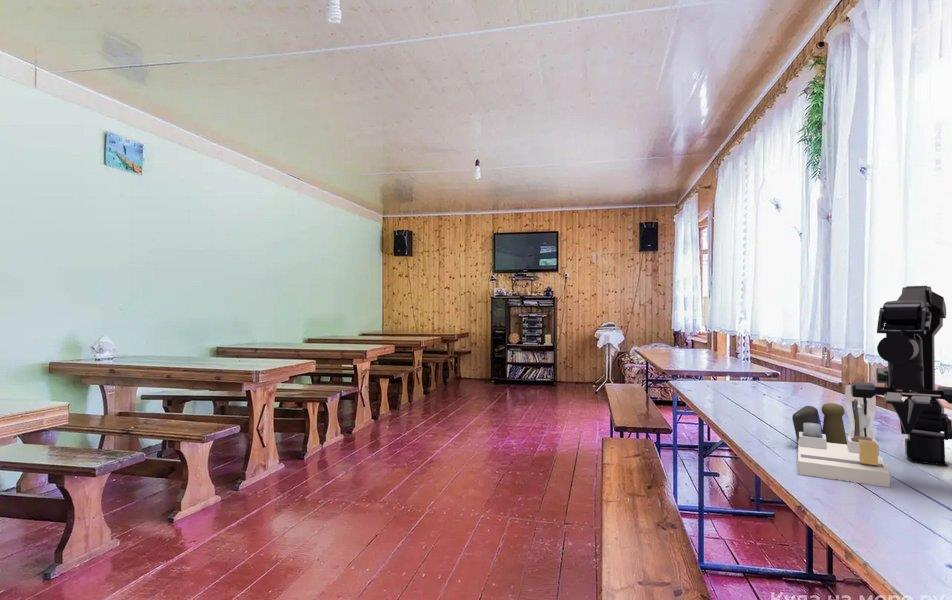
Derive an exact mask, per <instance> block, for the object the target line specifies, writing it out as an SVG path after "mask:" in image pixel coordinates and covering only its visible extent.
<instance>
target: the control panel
mask: <svg viewBox="0 0 952 600" xmlns="http://www.w3.org/2000/svg"><path fill="white" fill-rule="evenodd" d="M846 439H847V445H846V444H837V443H828V442H826V435H825V434H821V438H815V437H806V436H804V432H799V440H798V441H797V444H798V447H797V448H798V450H797V451H798V455H797V456H798V457H797V458H798V459H797V464H798V465H797V468H798V471H797V472H798V475H800V476H801V475H802V476H807V477H814V476H815V477H816V478H822V479H830V480H835V479H839V480H838V481H842V480H846V481H845V482H849V481H851V482H850V483H856V484H864V485H870V486H878V487H883V488H891V476H890V471H889V469H888V468H887V465H886V463H885V462H884V460H883V459H882V456H881V455H880V445H879V443H878V441H877V439H876V438H875V439H872V441H876V443H877V446H878V465H871V464H863V463H860V460H859V444H858V442H853V437H848V436H846Z"/></svg>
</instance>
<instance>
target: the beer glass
mask: <svg viewBox="0 0 952 600" xmlns="http://www.w3.org/2000/svg"><path fill="white" fill-rule="evenodd" d="M844 393H845V394H844V400H845V401H844V402H845V403H844V404H845V409H846V413H847V416H848V421H849V422H848V423H849V430H848V435H847V437H853V436H864V437H869V438H871V439H875V440H876V437H875V433H874V421H875V415H876V409H877V407H876V406H877V405H876V404H877V398H876V395H875V396H873V397H872V398H859V397H853V396H852V395H851V384H846V385H845V391H844Z"/></svg>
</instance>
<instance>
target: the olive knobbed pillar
mask: <svg viewBox="0 0 952 600" xmlns="http://www.w3.org/2000/svg"><path fill="white" fill-rule="evenodd" d="M821 412H822V414H823V422H822V430H823V434H825V435H826V442H828V443H837V444H846V445H847V434H846V431H845V424H844V420H843V416H844V415H845V414H846V413H845V408H844V406H843V405H841V404H839V403H832V402H830V403H829V402H828V403H827V402H826V403H824V404H823V405H822V406H821Z"/></svg>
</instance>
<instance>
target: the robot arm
mask: <svg viewBox="0 0 952 600" xmlns="http://www.w3.org/2000/svg"><path fill="white" fill-rule="evenodd" d="M878 311H879V312H878V320H877V327H876V334H885V337H883V338H882V339H881V340H880V341H879V342H878V343H877V347H876V349H877V353H878V356H879V357H880V358H881V359H882V360H883V361H885V362H887V368H885V367H884V368H883V367H876V369H875V377H876V378H875V379H876V383H877V384H886V386H875V384H874V383H873V382H861V381H853V382H851V383H850V385H851V395H852V396H853V397H859V398H872V397H873V396H875V397H876V396H883V402H885V403H886V404H890V405H891V406H892V408H893V410H895V412H896V414H897V417H898V419H899V422H900V424H899V425H900V431H901V435H907V438H906V437H905V438H904V451H905V452H904V453H905V456H906V457H907V458H908V459H909V461H910V462H913V463H919V464H921V463H922V464H929V465H938V466H945V467H947V466H948V463H947V461H946V448H945V446H946V444H945V441H949V440H952V420H951V419H950V418H949V416H948V413H945V407H944V405H943V404H942V403H941V402H940V400H943V401H946V402H947V403H948V404H951V405H952V387H951V386H937V389H936V379H935V378H936V371H935V369H936V368H935V361H936V360H935V336H936V335H937V334H938V332H939V331H940V330H941V329H942V328H943V326H944V322H943V321H944V319H946V318H947V307H946V302H945V298H944V296H942V295H940V294H938V293H936V292H934V291H933V290H932V286H928V285H909V286H908V285H907V286H905V287H902V290H901V293H900V295H899V297H898V299H897V300H891V301H890V300H889V301H885V302H884V303H883V305H882V307H880V308H879V310H878ZM903 398H905V399H904V400H903Z"/></svg>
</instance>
